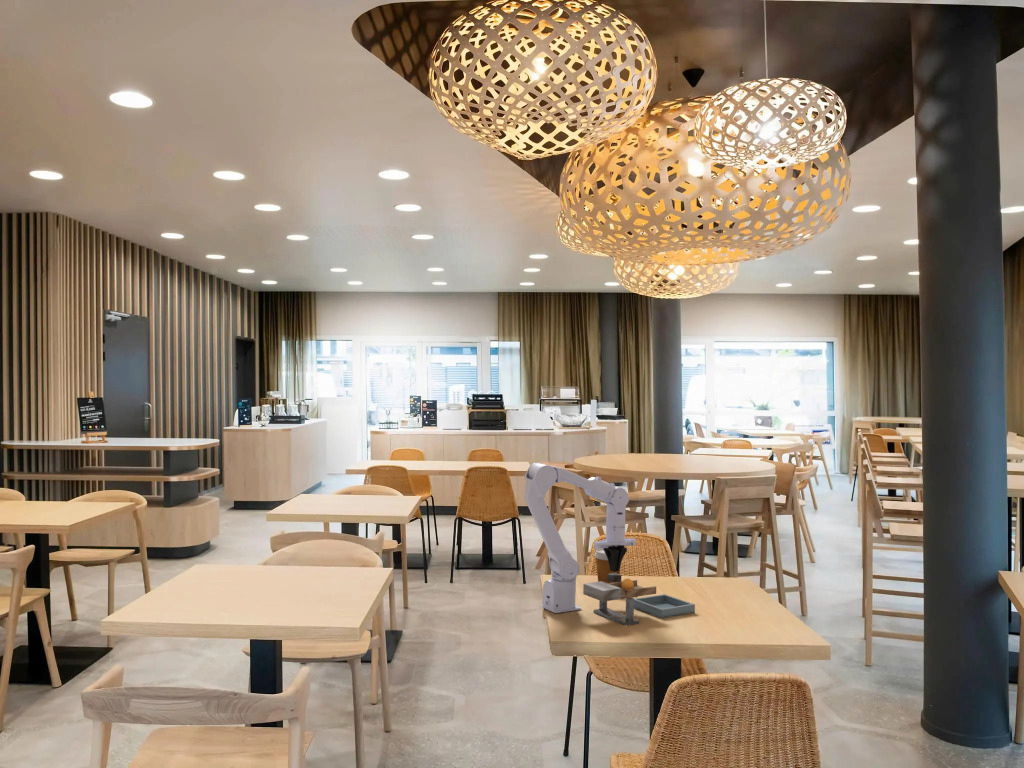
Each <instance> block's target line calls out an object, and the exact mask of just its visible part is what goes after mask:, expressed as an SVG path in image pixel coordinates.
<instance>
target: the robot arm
mask: <svg viewBox="0 0 1024 768" xmlns="http://www.w3.org/2000/svg"><path fill="white" fill-rule="evenodd" d="M524 478H525V486H524V487H525V488H524V489H525V490H524V500H525V502H526V505H527V507H528V509H529V511H530V513H531V516H532V518H533V520H534V523H535V524H536V527H537V529H538V532H539V534H540V536H541V538H542V541H543V542H544V546H545V547H546V550H547V557H548V559H549V560H548V562H549V563H548V564H549V565H548V566H549V568H550V570H551V572H552V574H551V578H550V579H547V580H545V581H544V582H543V584H542V604H541V605H540V607H541V608H543V609H545V610H547V611H550V612H552V613H554V614H559V613H567V612H572V611H578V610H582V607H580V606H578V605H576V592H577V591H576V588H577V586H576V585H577V584H576V583H577V576H578V575H579V573H580V565H579V562H578V561H577V560H576V559H574V558H573V557H572V554H571V553H570V552H569V550H568V549H567V547H566V546H565V544H564V542H563V539H562V538H561V536H560V535H561V534H560V533H559V531H558V528H557V526H556V524H555V522H554V520H553V517H552V515H551V512H550V510H549V509H548V506H547V504H546V501H545V497H546V495H547V492H548V491H549V490H550V489H551V488H552V487H553V486H554V485H555V483H556V484H559V483H562V482H565V483H567V484H570V485H573V486H576V487H579V488H582V489H583V490H584V493H585V494H586V495H587V496H589V497H592V498H594V499H597V500H600V501H602V502H605V503H606V517H605V520H606V522H605V539H602V540H598V541H594V543H593V546H594V547H593V548H594V549H596V550H598V549H603V550H604V552H605V554H606V556H607V559H608V562H609V566H610V571H614V572H616V571H619V568H620V569H621V567H620V565H621V564H622V561H623V559H624V556H625V555H626V553H627V552H628V548H627V546H633V547H634V546H636V541H637V539H636V538H632V537H631V538H630V537H629V538H626V507H627V505H628V503H629V502H630V496H629V494H628V491H626V490H627V489H625V488H623V487H619V486H617V485H615V483H614V482H610V483H609V482H607V481H605V480H602V477H600V476H596V477H594V476H591V477H590V478H586V477H584V476H581V475H579V474H576V473H574V472H572V471H570V470H568V469H565V468H562V467H559V466H555V465H554V466H553V465H550V464H544V463H542V462H534V463H532V464H530V465H529V466H528V469H527V470H526V473H525V475H524Z"/></svg>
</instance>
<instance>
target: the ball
mask: <svg viewBox="0 0 1024 768" xmlns="http://www.w3.org/2000/svg"><path fill="white" fill-rule="evenodd" d="M632 580H633V579H630V578H624V579H623V580H621V582H622V584H621V585H622V588H623V589H624V590H631V589H633V586H634V584H633V581H632Z"/></svg>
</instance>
